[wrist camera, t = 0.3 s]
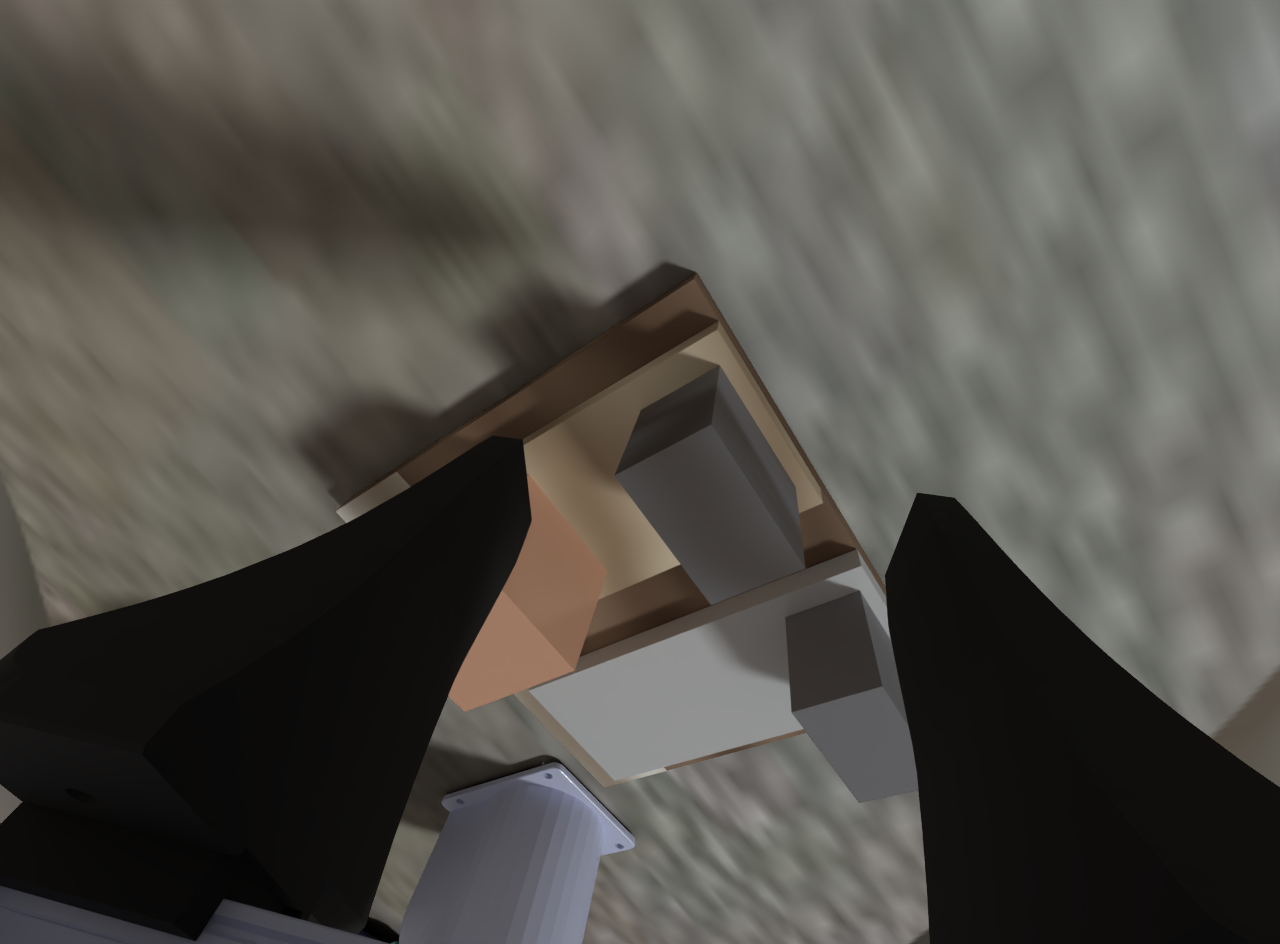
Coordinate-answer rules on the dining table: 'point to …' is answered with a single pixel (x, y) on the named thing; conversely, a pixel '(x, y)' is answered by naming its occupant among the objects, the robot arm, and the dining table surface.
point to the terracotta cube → (534, 612)
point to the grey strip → (751, 683)
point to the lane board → (565, 390)
